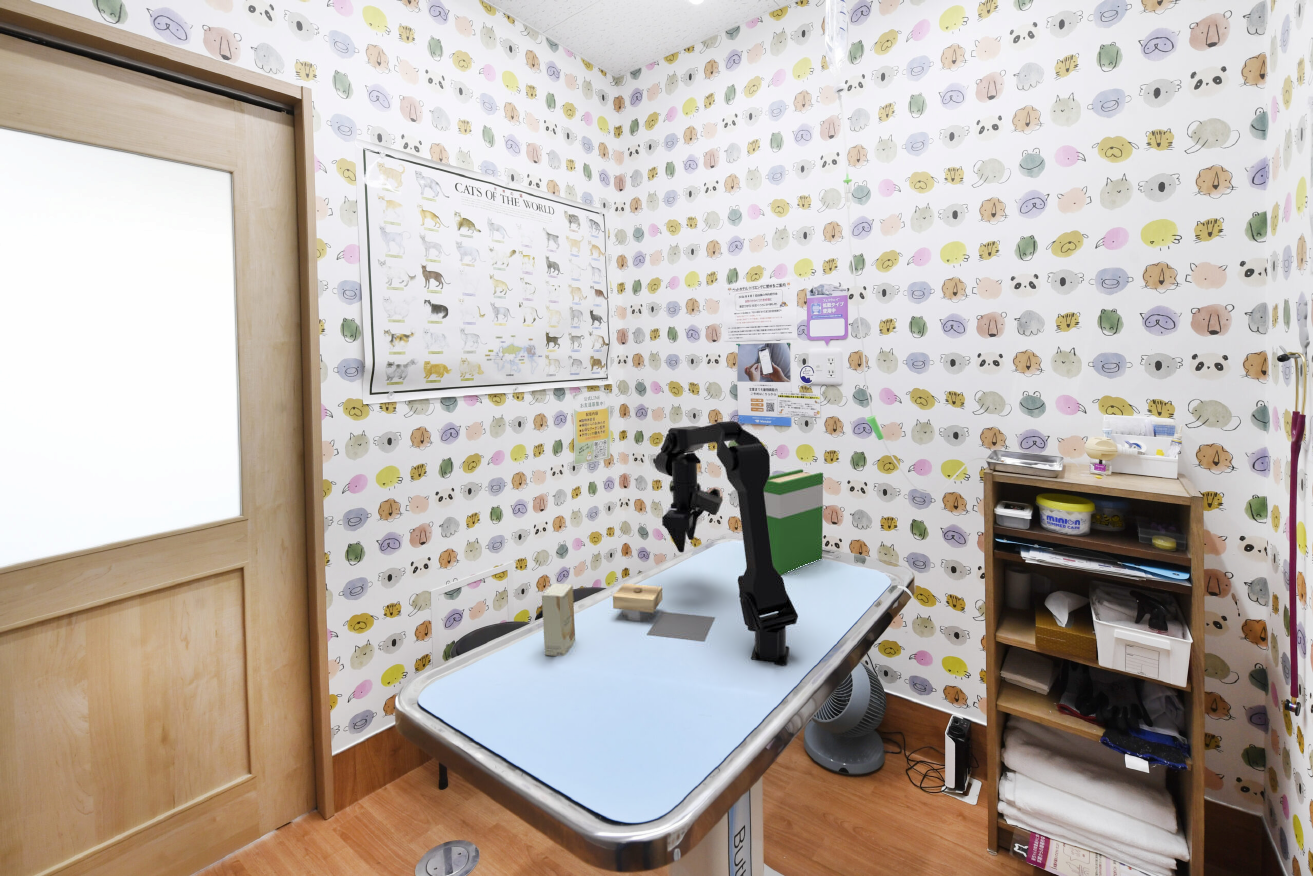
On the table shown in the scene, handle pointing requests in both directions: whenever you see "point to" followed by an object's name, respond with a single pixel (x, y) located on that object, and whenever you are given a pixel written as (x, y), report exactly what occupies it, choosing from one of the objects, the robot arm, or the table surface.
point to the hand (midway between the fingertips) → (686, 545)
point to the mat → (682, 626)
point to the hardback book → (794, 518)
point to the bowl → (637, 615)
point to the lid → (637, 597)
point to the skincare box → (558, 619)
